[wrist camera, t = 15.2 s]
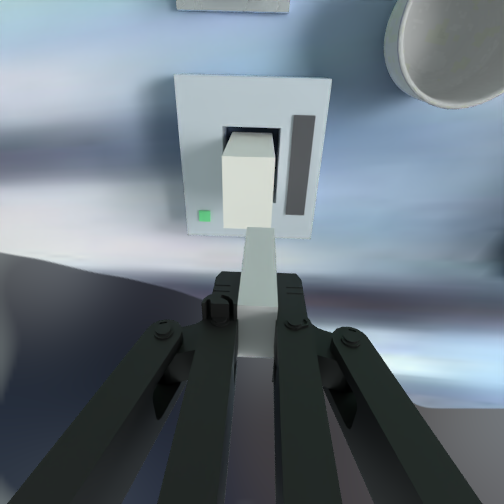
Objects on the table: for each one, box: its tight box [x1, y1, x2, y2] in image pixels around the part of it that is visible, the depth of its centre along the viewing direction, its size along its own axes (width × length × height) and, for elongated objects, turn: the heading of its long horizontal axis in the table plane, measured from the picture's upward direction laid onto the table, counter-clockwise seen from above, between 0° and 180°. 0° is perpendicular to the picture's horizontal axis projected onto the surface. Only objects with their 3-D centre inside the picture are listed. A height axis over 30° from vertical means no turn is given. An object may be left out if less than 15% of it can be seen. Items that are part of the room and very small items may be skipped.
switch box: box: [174, 73, 332, 239], centre depth 34 cm, size 14×16×4 cm
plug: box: [222, 132, 275, 229], centre depth 30 cm, size 4×6×12 cm, turn 179°
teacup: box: [384, 0, 504, 109], centre depth 25 cm, size 14×11×8 cm
